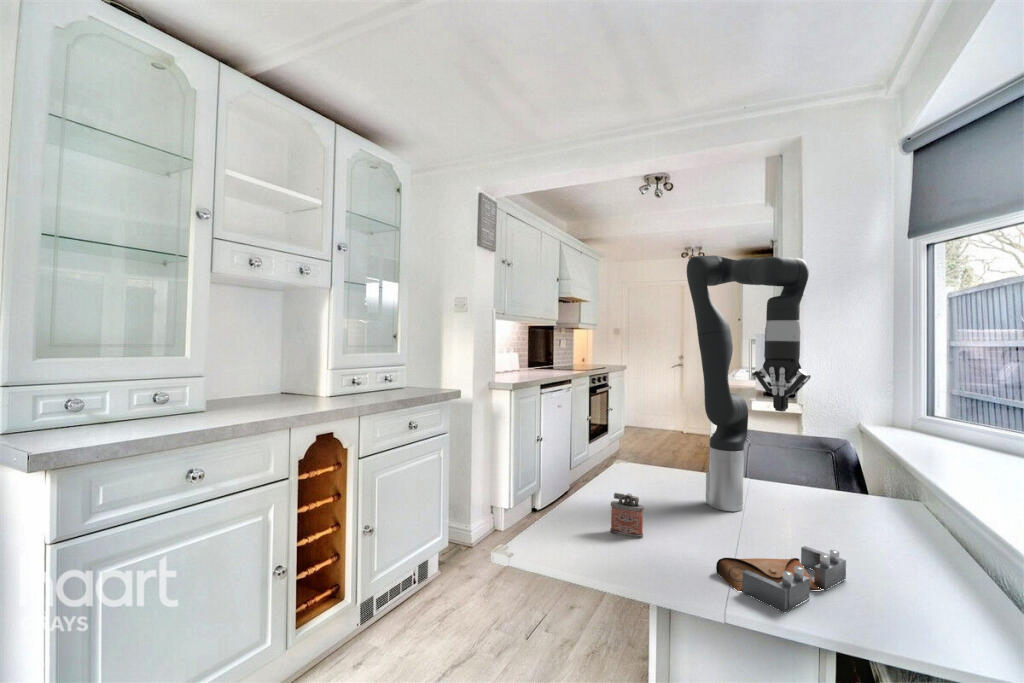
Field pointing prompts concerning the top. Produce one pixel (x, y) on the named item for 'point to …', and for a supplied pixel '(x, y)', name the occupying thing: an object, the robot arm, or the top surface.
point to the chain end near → (778, 589)
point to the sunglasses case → (757, 570)
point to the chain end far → (824, 566)
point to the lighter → (627, 516)
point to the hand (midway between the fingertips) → (780, 410)
